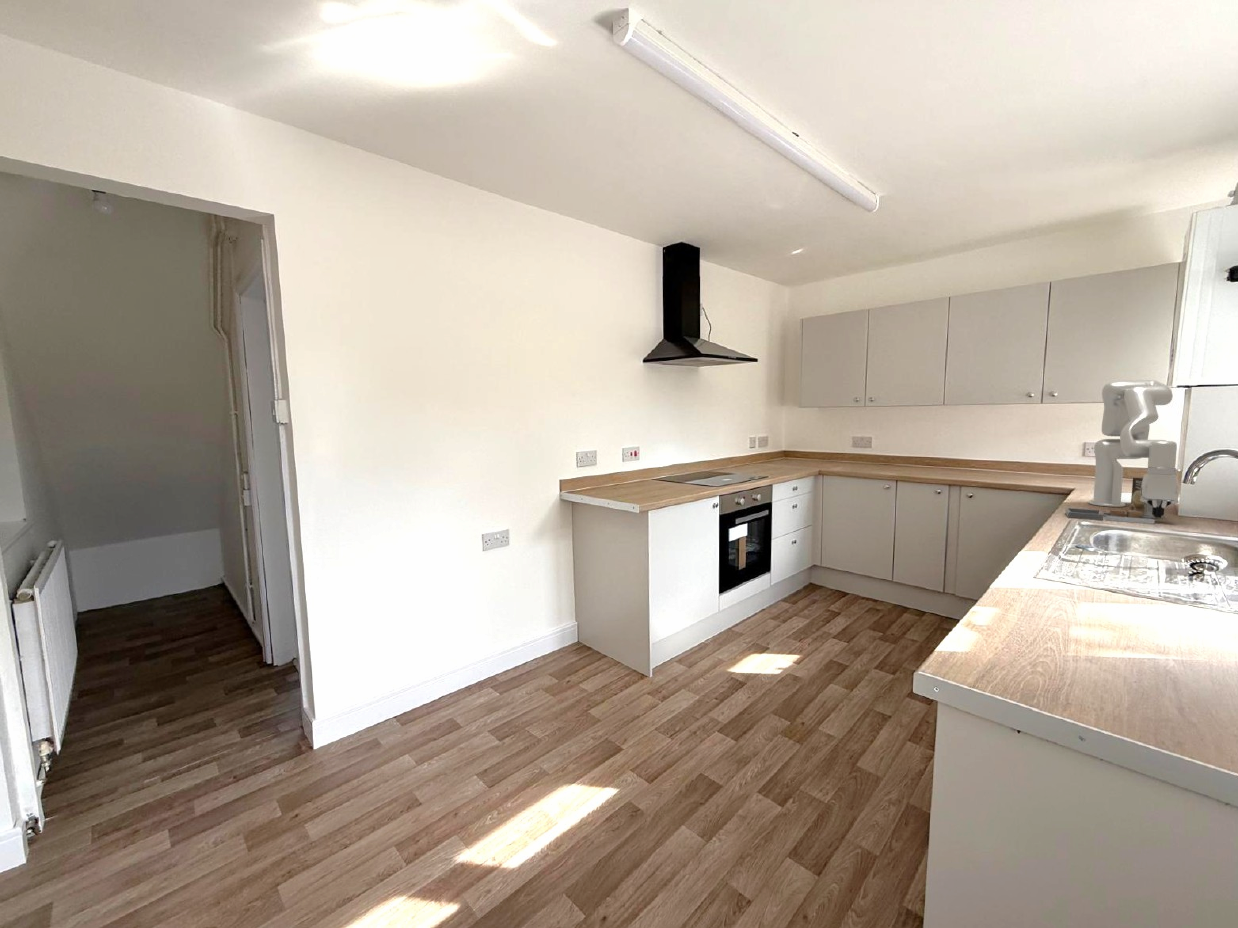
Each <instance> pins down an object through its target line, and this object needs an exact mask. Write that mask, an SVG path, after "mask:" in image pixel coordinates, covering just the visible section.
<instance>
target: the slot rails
mask: <svg viewBox="0 0 1238 928" xmlns="http://www.w3.org/2000/svg"><path fill="white" fill-rule="evenodd" d="M1101 514H1103V518H1104V519H1105V521H1112V522H1113V521H1114V522H1125V523H1136V524H1138V523H1139V524H1147V525H1148V524H1150V525H1152V524H1153V525H1155V522H1156V520H1155V519H1156V518H1150V516H1149V515H1143V516H1142V518H1136V517H1126V515H1127V513H1125V517H1122V516H1110V512H1104V511H1103V512H1101Z"/></svg>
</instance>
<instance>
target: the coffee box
mask: <svg viewBox="0 0 1238 928" xmlns="http://www.w3.org/2000/svg"><path fill="white" fill-rule="evenodd" d="M1142 480H1143V477H1133V478H1132V488H1131V496H1130V497H1131V498H1130V509H1129V510H1134V511H1141V512H1143V515H1149V516H1150V519H1163V518H1164V515H1163V516H1162V517H1161V518H1159V517H1158V518H1156V517H1154V515H1152V508H1153V507H1152V506H1151V505H1150V504H1149V503H1146V502H1142V501H1140V498H1141V496H1140V491H1141V485H1142ZM1147 500H1149V499H1147ZM1150 501H1151V500H1150ZM1156 501H1157V506H1158V507H1159V505H1160V503H1161V500H1156Z"/></svg>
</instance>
